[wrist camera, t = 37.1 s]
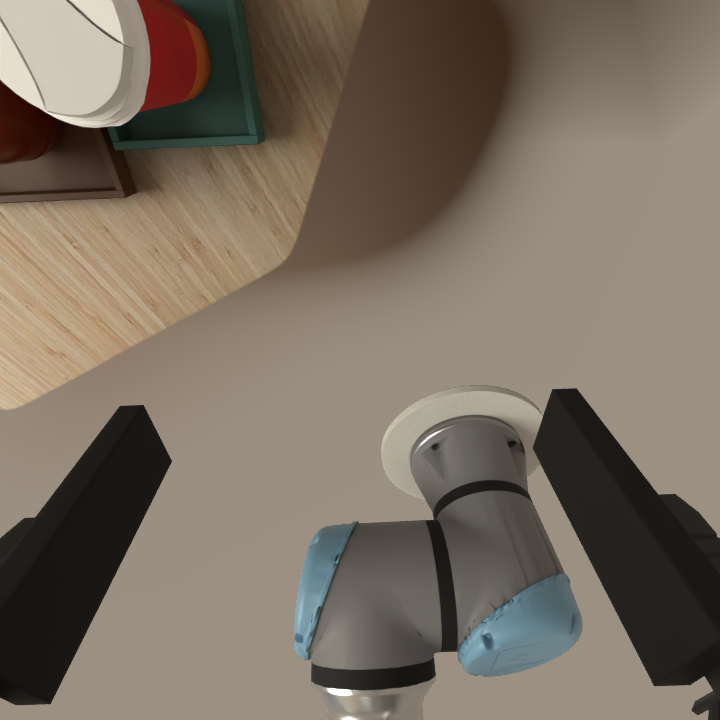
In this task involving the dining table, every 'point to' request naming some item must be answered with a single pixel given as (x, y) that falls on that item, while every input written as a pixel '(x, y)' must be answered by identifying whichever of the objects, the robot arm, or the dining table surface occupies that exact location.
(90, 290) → the dining table surface
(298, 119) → the dining table surface
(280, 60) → the dining table surface
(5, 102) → the mug
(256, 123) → the teal tray
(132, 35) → the paper cup
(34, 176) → the walnut tray
